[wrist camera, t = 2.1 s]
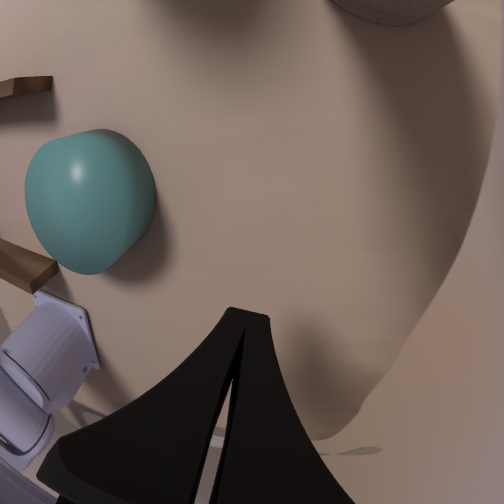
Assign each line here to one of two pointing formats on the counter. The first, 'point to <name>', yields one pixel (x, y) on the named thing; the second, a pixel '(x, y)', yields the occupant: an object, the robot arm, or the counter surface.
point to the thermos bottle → (393, 10)
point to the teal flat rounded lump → (89, 198)
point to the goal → (5, 253)
